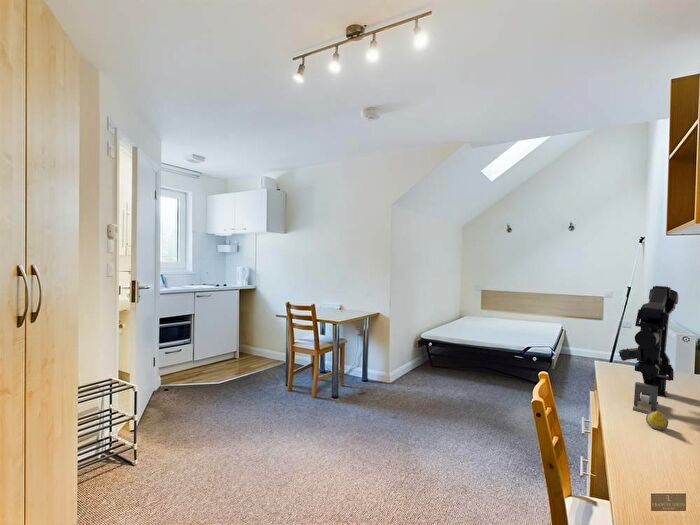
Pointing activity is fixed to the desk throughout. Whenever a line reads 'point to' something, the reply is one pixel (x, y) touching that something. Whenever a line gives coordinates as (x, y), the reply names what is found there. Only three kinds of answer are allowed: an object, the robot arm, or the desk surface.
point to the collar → (646, 390)
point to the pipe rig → (644, 404)
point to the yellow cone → (657, 420)
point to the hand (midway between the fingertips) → (646, 388)
